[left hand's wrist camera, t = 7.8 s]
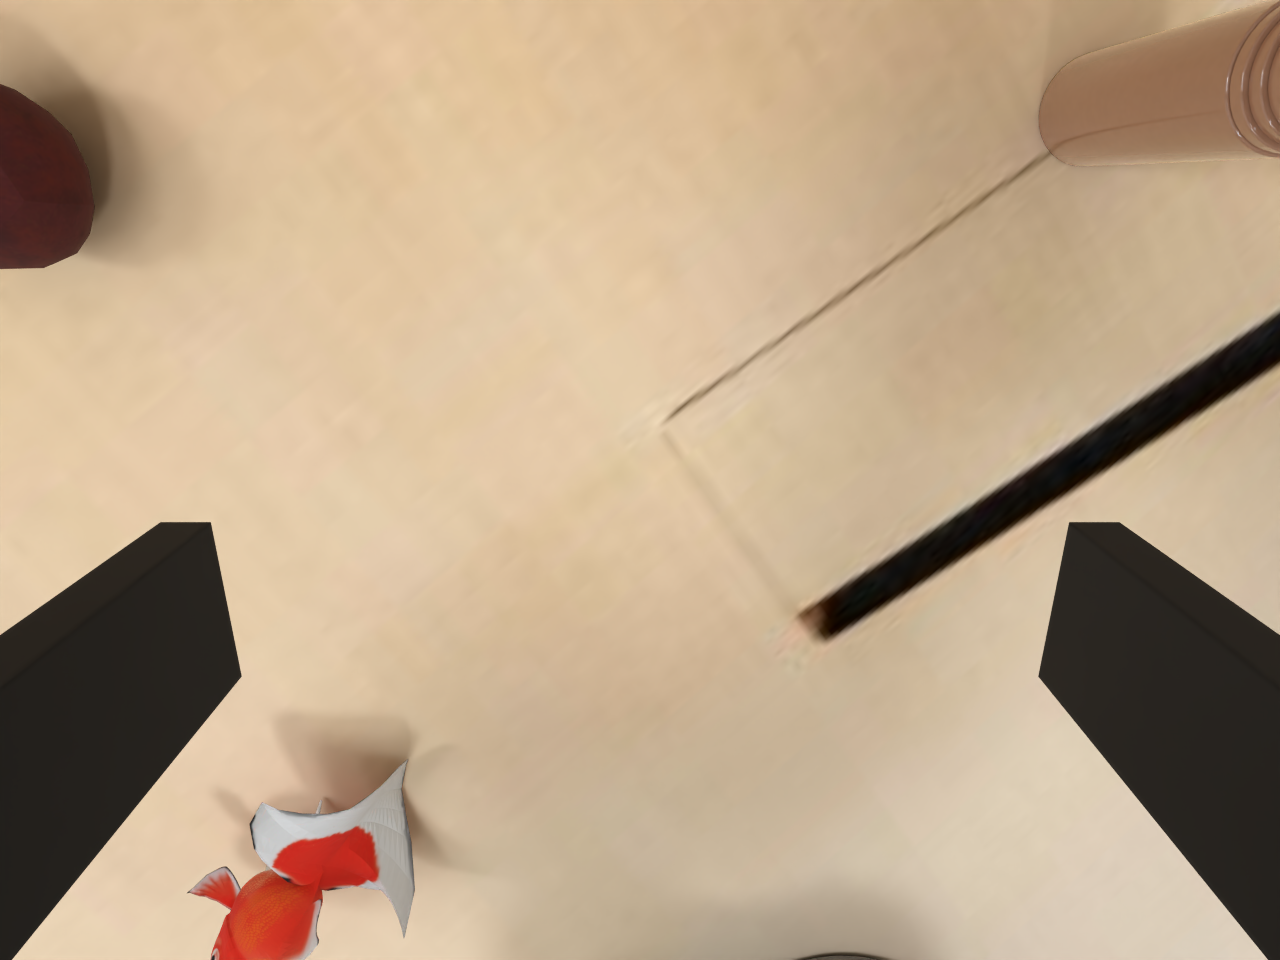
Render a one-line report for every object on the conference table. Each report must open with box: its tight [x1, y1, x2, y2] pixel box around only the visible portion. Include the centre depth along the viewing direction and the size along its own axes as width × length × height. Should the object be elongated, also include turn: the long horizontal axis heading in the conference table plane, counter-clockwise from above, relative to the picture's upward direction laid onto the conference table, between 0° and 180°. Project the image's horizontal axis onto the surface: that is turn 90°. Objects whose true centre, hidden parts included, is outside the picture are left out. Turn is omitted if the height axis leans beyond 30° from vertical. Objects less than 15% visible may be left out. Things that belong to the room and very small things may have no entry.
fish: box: [188, 759, 415, 960], centre depth 45 cm, size 11×16×10 cm
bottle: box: [1039, 0, 1280, 166], centre depth 28 cm, size 5×5×17 cm
